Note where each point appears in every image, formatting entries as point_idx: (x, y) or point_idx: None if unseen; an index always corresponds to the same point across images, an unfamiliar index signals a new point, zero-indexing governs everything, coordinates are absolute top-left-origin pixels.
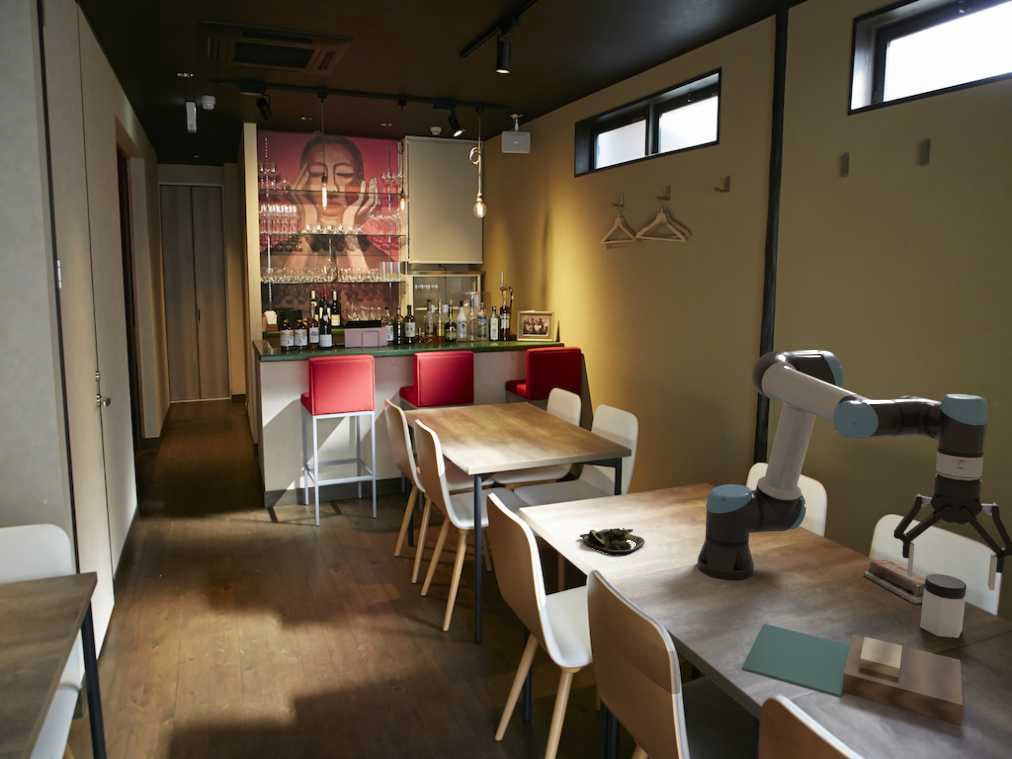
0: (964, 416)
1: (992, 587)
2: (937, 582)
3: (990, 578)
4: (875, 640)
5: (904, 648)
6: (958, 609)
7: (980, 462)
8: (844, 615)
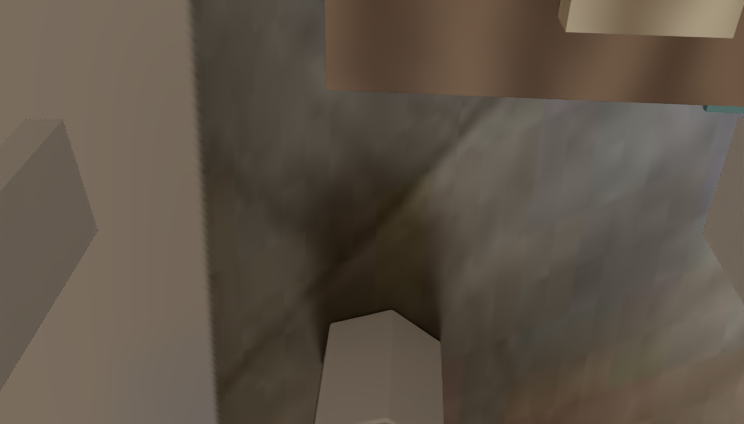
0: None
1: (28, 131)
2: None
3: (11, 184)
4: (686, 22)
5: (536, 81)
6: (329, 399)
7: None
8: (683, 322)
